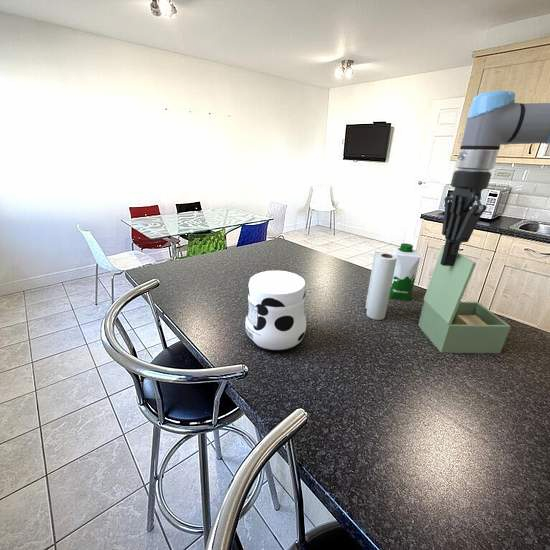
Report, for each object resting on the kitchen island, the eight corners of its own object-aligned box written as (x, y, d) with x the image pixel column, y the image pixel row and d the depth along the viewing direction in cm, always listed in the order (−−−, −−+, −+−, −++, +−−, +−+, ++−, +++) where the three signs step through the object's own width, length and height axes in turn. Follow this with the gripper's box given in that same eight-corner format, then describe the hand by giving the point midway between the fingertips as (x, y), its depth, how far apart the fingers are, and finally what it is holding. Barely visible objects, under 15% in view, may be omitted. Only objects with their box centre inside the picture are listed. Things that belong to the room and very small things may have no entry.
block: (470, 330, 89) (475, 315, 87) (482, 342, 84) (488, 325, 82) (452, 330, 89) (457, 314, 87) (463, 342, 84) (469, 325, 81)
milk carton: (407, 293, 113) (418, 244, 105) (411, 304, 105) (424, 252, 97) (383, 290, 115) (393, 242, 107) (386, 301, 107) (396, 249, 99)
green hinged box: (469, 325, 93) (477, 301, 89) (500, 353, 81) (511, 326, 77) (417, 325, 93) (424, 300, 89) (440, 352, 80) (449, 325, 77)
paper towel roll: (386, 321, 94) (399, 259, 86) (366, 319, 95) (377, 257, 87) (383, 310, 101) (394, 251, 92) (365, 308, 102) (375, 250, 93)
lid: (445, 245, 82) (442, 245, 82) (476, 263, 70) (473, 262, 70) (425, 299, 89) (423, 299, 89) (451, 324, 77) (448, 324, 76)
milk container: (311, 327, 90) (315, 274, 83) (295, 363, 75) (299, 301, 68) (259, 316, 95) (259, 265, 88) (235, 347, 80) (232, 289, 73)
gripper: (441, 168, 73) (421, 256, 83) (475, 172, 62) (446, 274, 71) (471, 168, 74) (447, 256, 83) (509, 172, 62) (476, 274, 71)
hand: (446, 264), depth 77 cm, fingers closed
